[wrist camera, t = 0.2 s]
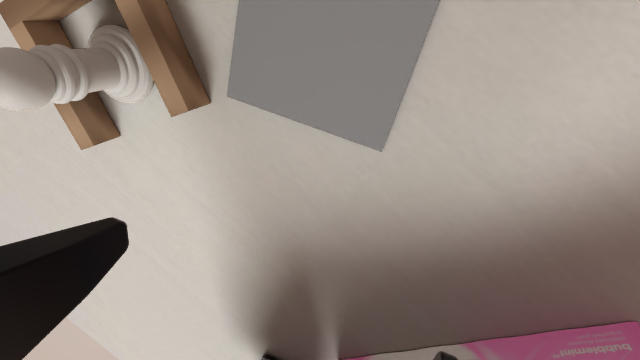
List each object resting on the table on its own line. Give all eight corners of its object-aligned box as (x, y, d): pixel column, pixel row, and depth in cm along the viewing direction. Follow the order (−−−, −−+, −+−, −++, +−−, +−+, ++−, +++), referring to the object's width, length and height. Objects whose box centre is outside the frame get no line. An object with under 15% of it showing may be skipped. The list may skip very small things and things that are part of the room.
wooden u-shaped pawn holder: (210, 103, 24) (188, 110, 21) (108, 140, 28) (81, 150, 26) (137, -63, 20) (102, -74, 18) (34, 8, 25) (-4, 6, 22)
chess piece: (121, 110, 26) (-10, 146, 18) (83, 41, 25) (-79, 49, 17) (170, 88, 24) (45, 119, 16) (132, 11, 22) (-27, 4, 15)
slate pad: (382, 149, 21) (381, 151, 21) (230, 95, 23) (227, 96, 23) (459, -52, 16) (460, -53, 16) (255, -105, 18) (252, -107, 17)
